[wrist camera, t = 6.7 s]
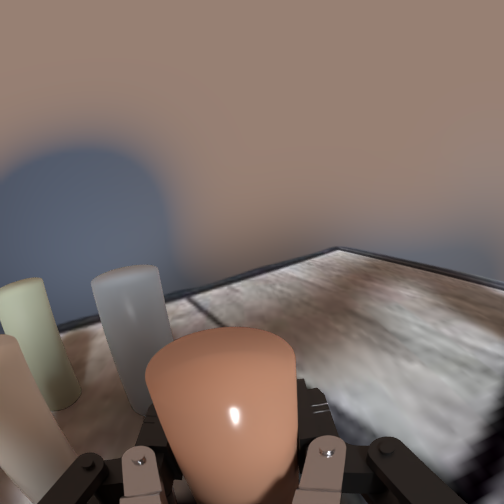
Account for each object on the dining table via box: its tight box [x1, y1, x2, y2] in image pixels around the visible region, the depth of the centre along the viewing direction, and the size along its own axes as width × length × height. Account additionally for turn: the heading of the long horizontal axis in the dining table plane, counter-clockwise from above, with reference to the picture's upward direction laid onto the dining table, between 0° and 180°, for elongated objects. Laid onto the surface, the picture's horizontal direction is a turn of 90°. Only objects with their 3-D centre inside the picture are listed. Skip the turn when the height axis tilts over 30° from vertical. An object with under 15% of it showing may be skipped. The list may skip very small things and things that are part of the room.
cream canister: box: [0, 334, 88, 504], centre depth 10 cm, size 5×5×10 cm
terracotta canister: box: [145, 327, 299, 504], centre depth 10 cm, size 5×5×10 cm
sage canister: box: [0, 278, 81, 411], centre depth 20 cm, size 5×5×10 cm
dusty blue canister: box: [91, 265, 174, 416], centre depth 20 cm, size 5×5×10 cm
